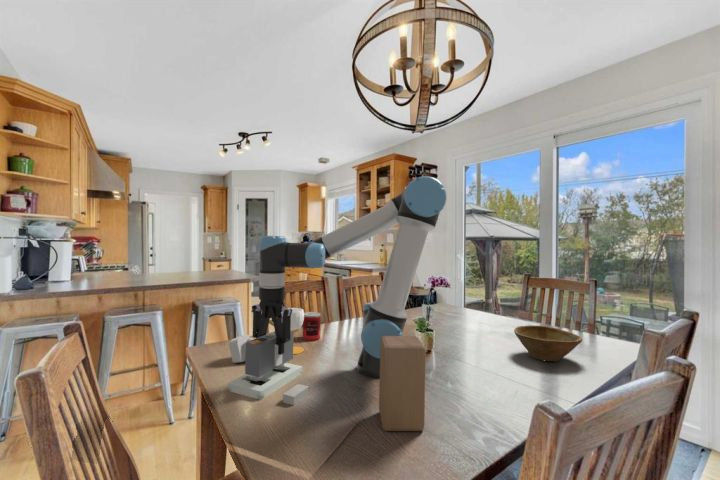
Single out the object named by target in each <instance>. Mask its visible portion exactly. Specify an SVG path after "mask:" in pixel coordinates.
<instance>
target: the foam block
mask: <svg viewBox="0 0 720 480" xmlns="http://www.w3.org/2000/svg"><path fill="white" fill-rule="evenodd" d="M309 388H310V387H309V386H308V385H304V384H300V383H297V384H296V385H294V386H292V387H291V388H290V389H288V390H287V391H285V392H284V393H283V394H282V403H284V404H288V405H291V406H295V405H297V404H298V403H299V402H300V401H302V400H303V399H304V398H306V397H308V395H309V394H310V393H309V390H310V389H309Z"/></svg>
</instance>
